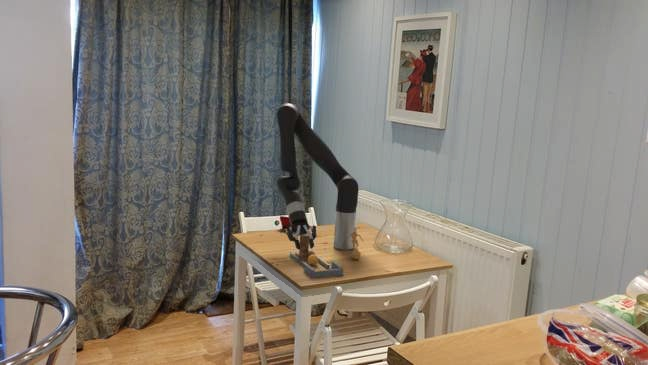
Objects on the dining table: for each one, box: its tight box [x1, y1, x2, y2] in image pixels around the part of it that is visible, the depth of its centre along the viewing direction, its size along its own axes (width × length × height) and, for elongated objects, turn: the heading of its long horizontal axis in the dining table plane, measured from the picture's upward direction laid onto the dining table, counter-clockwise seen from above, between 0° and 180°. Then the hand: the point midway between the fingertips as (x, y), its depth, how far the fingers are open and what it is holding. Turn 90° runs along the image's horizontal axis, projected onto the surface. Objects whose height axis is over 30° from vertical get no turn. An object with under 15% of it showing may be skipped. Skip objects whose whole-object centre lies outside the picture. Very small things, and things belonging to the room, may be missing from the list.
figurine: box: [347, 231, 364, 261], centre depth 245 cm, size 8×6×12 cm
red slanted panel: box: [279, 215, 291, 230], centre depth 289 cm, size 12×11×7 cm
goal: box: [303, 260, 344, 279], centre depth 225 cm, size 13×8×3 cm, turn 114°
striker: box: [294, 234, 316, 262], centre depth 242 cm, size 6×8×10 cm
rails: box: [289, 251, 330, 270], centre depth 238 cm, size 10×20×2 cm, turn 24°
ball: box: [307, 254, 319, 266], centre depth 234 cm, size 4×4×4 cm
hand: (305, 248), depth 241 cm, fingers open, 5 cm apart
